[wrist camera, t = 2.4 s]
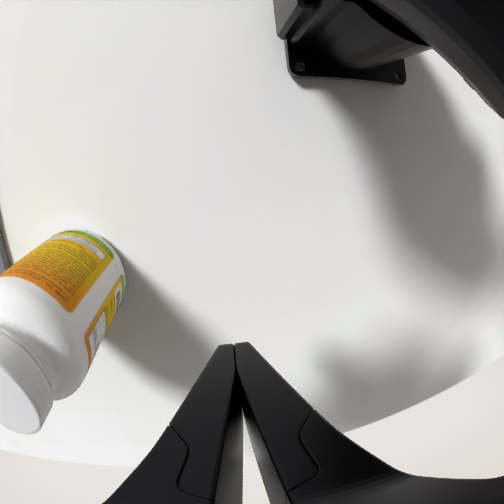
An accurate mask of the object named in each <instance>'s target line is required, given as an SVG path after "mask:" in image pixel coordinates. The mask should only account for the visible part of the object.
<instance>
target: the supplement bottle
mask: <svg viewBox="0 0 504 504" xmlns="http://www.w3.org/2000/svg"><path fill="white" fill-rule="evenodd" d="M125 286H126V278H125V272H124V268H123V265H122V263H121V260H120V258H119V256H118V255H117V253H116V252H115V250H114V249H113V248H112V247H111V246H110V245H109V244H108V243H107V242H106V241H105V240H104V239H103V238H101V237H100V236H98V235H97V234H95V233H93V232H91V231H88V230H84V229H68V230H65V231H62V232H60V233H58V234H56V235H54V236H53V237H51V238H50V239H48V240H47V241H45V242H44V243H42V244H41V245H40V246H38V247H37V248H35V249H34V250H33V251H31V252H30V253H29V254H27V255H26V256H24V257H23V258H22V259H20V260H19V261H18V262H16V263H15V264H14V265H12V266H11V267H10V268H9V269H7V270H6V271H5V272H3V273H2V274H1V275H0V424H1V425H2V426H4V427H6V428H8V429H10V430H13V431H15V432H18V433H22V434H34V433H36V432H38V431H39V430H40V429H41V427H42V426H43V423H44V421H45V419H46V418H47V415H48V413H49V412H50V410H51V408H52V404H53V401H54V400H60V399H64V398H66V397H68V396H70V395H72V394H73V393H74V392H75V391H76V390H77V389H78V388H79V387H80V385H81V384H82V382H83V380H84V378H85V376H86V374H87V372H88V370H89V368H90V366H91V363H92V361H93V359H94V356H95V354H96V352H97V350H98V348H99V346H100V344H101V341H102V339H103V337H104V336H105V333H106V331H107V329H108V327H109V325H110V323H111V321H112V320H113V318H114V315H115V313H116V312H117V310H118V308H119V306H120V304H121V301H122V299H123V296H124V293H125Z"/></svg>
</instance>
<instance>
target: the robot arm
mask: <svg viewBox="0 0 504 504" xmlns="http://www.w3.org/2000/svg"><path fill="white" fill-rule="evenodd" d="M273 4H274V13H275V21H276V30H277V36H278V37H279V38H280V39H281V40H285V49H286V59H287V69H288V72H289V73H290V74H291V75H292V76H293V77H296V78H320V79H338V80H352V81H362V82H372V83H380V84H388V85H395V86H397V85H403V84H404V83H405V81H406V72H405V64H404V58H406V57H408V56H411V55H414V54H417V53H420V52H424V51H427V50H430V49H434V50H435V51H436V52H437V53H438V54H439V55H440V56H441V57H442V58H444V59H445V60H446V61H447V62H448V63H449V64H450V65H451V66H452V67H453V68H454V69H455V70H456V71H457V72H458V73H459V74H460V75H461V76H462V77H463V79H464V81H465V82H466V83H467V84H468V85H469V86H470V87H471V88H472V89H473V90H475V91H476V92H477V94H478V95H479V96H480V97H481V98H482V99H483V100H484V102H485V103H486V104H487V105H488V106H489V107H490V108H491V109H493V110H494V111H495V112H496V113H497V114H498V115H499V116H500V117H501V118H503V119H504V0H273ZM295 64H300V65H301V66H302V68H303V70H302V71H301V72H300V71H297V70H296V69H295V67H294V66H295ZM395 73H396V74H397V75H398V77H399V80H397V79H396V77H395ZM242 409H243V410H242ZM243 415H244V419H245V423H246V427H247V430H248V434H249V437H250V440H251V444H252V447H253V450H254V454H255V457H256V460H257V463H258V467H259V470H260V473H261V476H262V479H263V483H264V486H265V489H266V491H267V495H268V498H269V501H270V504H504V476H501V477H497V478H490V479H449V478H434V477H422V476H415V475H411V474H407V473H404V472H401V471H399V470H397V469H395V468H393V467H391V466H390V465H388V464H387V463H385V462H383V461H382V460H380V459H379V458H377V457H376V456H374V455H372V454H371V453H369V452H368V451H366V450H365V449H363V448H362V447H360V446H359V445H357V444H356V443H354V442H353V441H352V440H350V439H349V438H348V437H346V436H345V435H343V434H342V433H341V432H339V431H338V430H337V429H336V428H334V427H333V426H332V425H331V424H330V423H329V422H328V421H327V420H325V419H324V418H323V417H322V416H321V415H320V414H319V413H318V412H317V411H316V410H313V407H312V406H311V405H310V404H309V403H308V402H307V401H306V400H305V399H304V398H303V397H302V396H301V395H300V394H299V393H298V392H297V391H296V390H295V389H294V388H293V387H292V386H291V385H290V384H289V383H288V382H287V381H286V380H285V379H284V378H283V377H282V376H281V375H280V374H279V373H278V372H277V371H276V370H275V369H274V368H273V367H272V366H271V365H270V364H269V363H268V362H267V361H266V360H265V359H264V358H263V357H262V356H261V354H260V353H259V352H258V351H257V350H256V349H255V348H254V347H253V346H252V345H251V344H250V343H249V342H242V343H236V344H235V345H233V344H224V345H219V346H218V347H217V349H216V351H215V352H214V354H213V355H212V357H211V359H210V360H209V362H208V363H207V365H206V367H205V368H204V370H203V371H202V373H201V375H200V376H199V378H198V379H197V381H196V383H195V384H194V386H193V387H192V389H191V390H190V392H189V394H188V395H187V397H186V398H185V400H184V402H183V403H182V405H181V406H180V408H179V409H178V411H177V412H176V414H175V416H174V417H173V419H172V420H171V422H170V423H169V425H170V426H167V428H166V429H165V431H164V432H163V434H162V436H161V437H160V438H159V440H158V441H157V443H156V444H155V446H154V447H153V448H152V450H151V451H150V452H149V453H148V455H147V456H146V457H145V458H144V459H143V461H142V462H141V463H140V464H139V465H138V467H137V468H136V469H135V470H134V471H133V472H132V473H131V474H130V475H129V477H128V478H127V479H126V480H125V481H124V482H123V483H122V484H121V486H119V488H118V489H117V490H116V491H115V492H114V493H113V494H112V495H111V496H110V497H109V498H108V499H107V500H106V501H105V502H104V503H102V504H242V489H243V485H242V484H243Z"/></svg>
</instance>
